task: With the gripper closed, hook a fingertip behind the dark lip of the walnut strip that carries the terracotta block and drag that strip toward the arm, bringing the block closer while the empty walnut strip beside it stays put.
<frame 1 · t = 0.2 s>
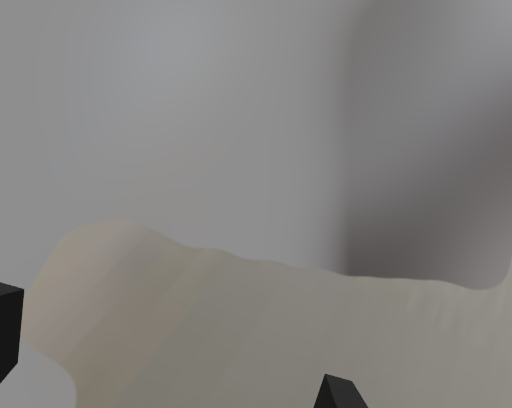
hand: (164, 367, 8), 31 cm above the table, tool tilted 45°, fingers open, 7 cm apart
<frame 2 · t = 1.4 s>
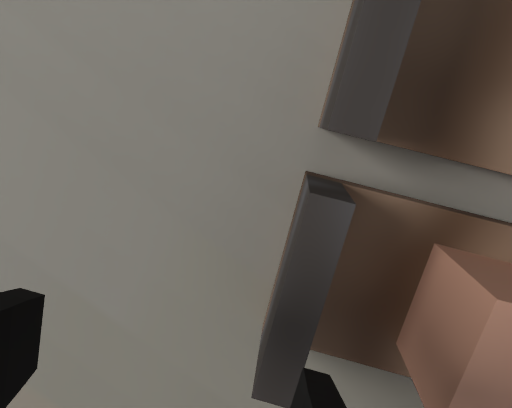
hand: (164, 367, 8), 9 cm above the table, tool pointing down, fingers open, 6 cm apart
cargo strip: (426, 312, 15), point 3 cm above the table, slide at 0.0 cm, touching terracotta block
terracotta block: (470, 310, 16), point 1 cm above the table, touching cargo strip
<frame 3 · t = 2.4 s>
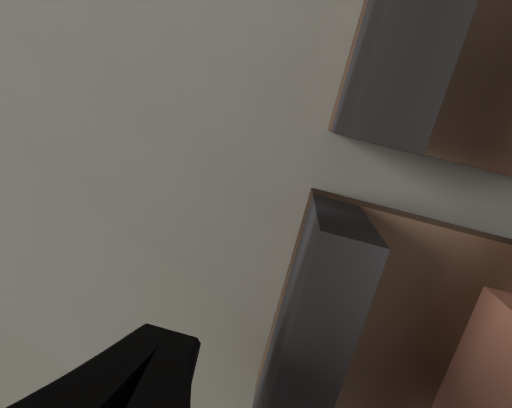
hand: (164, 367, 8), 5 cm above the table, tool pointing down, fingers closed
cargo strip: (476, 383, 11), point 3 cm above the table, slide at 0.0 cm, touching terracotta block
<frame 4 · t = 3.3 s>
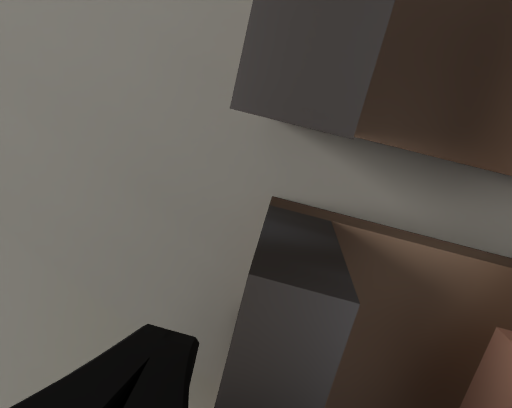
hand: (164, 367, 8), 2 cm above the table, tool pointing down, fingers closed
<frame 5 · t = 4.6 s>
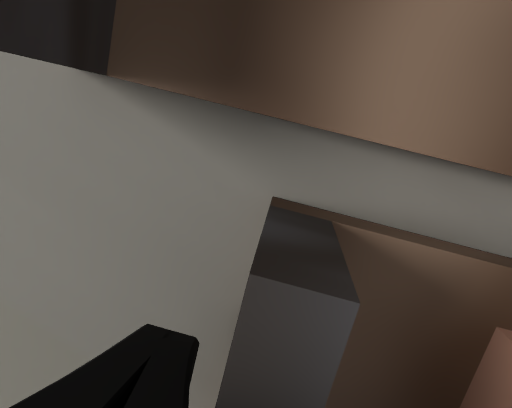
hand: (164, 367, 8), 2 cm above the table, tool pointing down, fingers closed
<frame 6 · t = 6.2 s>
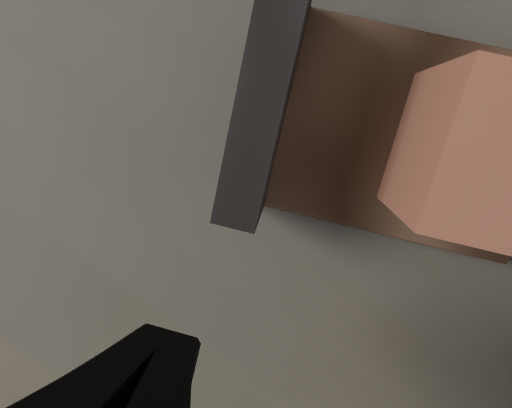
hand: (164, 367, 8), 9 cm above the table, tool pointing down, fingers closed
cargo strip: (406, 139, 13), point 2 cm above the table, slide at 5.9 cm, touching terracotta block
terracotta block: (457, 152, 15), point 1 cm above the table, touching cargo strip
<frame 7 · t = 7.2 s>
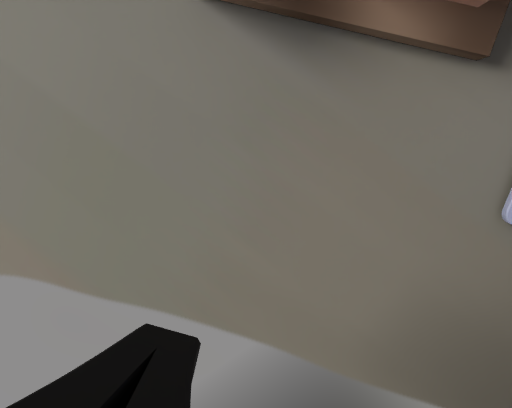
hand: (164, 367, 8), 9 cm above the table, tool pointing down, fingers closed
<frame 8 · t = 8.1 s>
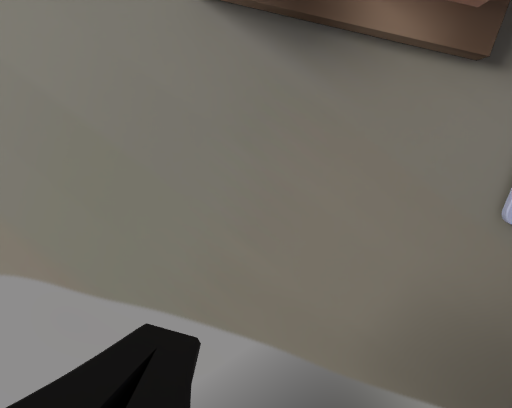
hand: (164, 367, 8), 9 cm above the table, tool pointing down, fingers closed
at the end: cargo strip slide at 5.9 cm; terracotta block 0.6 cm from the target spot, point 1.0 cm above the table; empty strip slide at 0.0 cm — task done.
